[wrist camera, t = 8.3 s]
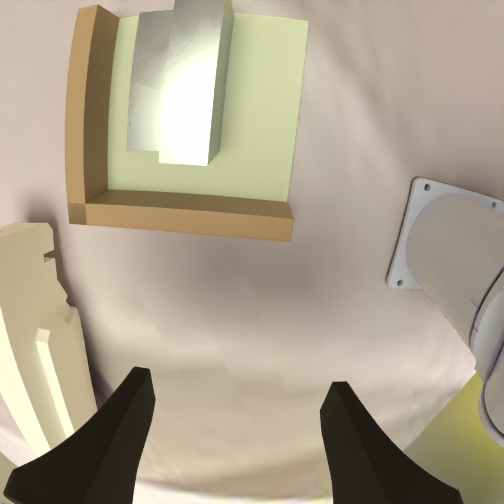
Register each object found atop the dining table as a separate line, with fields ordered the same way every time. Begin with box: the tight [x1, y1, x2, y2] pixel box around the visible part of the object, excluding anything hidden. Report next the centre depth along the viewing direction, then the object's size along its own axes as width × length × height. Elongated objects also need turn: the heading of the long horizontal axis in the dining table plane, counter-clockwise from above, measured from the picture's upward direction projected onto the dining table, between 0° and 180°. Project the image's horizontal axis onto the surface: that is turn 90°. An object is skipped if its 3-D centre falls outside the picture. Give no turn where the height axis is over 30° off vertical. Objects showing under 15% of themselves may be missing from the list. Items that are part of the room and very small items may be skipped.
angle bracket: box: [126, 0, 234, 166], centre depth 12 cm, size 8×5×5 cm, turn 174°
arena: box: [65, 5, 309, 242], centre depth 14 cm, size 12×12×4 cm
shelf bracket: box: [0, 223, 98, 457], centre depth 20 cm, size 6×25×13 cm, turn 177°
